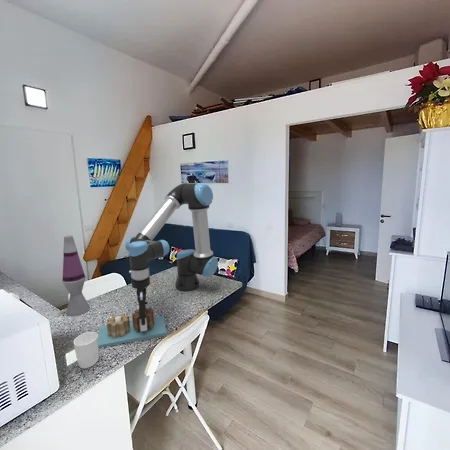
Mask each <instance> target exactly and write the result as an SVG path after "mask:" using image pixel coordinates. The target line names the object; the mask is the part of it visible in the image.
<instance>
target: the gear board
mask: <svg viewBox="0 0 450 450" xmlns="http://www.w3.org/2000/svg"><path fill="white" fill-rule="evenodd" d="M119 321H121V316H118V315H117V316H116V317H115V322H119ZM97 334H98V345H99V348H100V349H103V348H102V347H105V348H108V347H107V346H110V347H113V346H112V345H115V346H118V345H117V344H120V345H122V344H121V343H125V344H128V343H127V342H131V343H135V341H136V342H139V341H145V340H151V339H155V338H160V337H166V336H167V330H166V323H165V317H164V315H159V316H154V324H153V327H151V328H147V331H141V330H140V329H139V330H138V331H137V330H135V328H133V320H132V321H130V332H129V333H126V334H125V336H123V337H120V336H119V337H117V338H112V336H110V337H109V336H108V331H107V325H102V326H100V327H99V331H98V333H97Z"/></svg>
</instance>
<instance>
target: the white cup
mask: <svg viewBox="0 0 450 450" xmlns="http://www.w3.org/2000/svg"><path fill="white" fill-rule="evenodd" d="M98 334H99V333H98V332H95V331H87V332H84V333H81V334H80V335H78V336H77V337H75V338H74V340H73V347H74V352H75V355H76V356H75V357H76V360H77V364H78V367H79V368H80V369H84V370H85V369H89V367H90V368H91V366H92V367H93V365H94V364H95V363H96V362H97V361H98V362H99V360H98V359H100V355H99V351H100V349H99V345H98ZM98 362H97V363H98ZM97 363H96V364H97ZM96 364H95V365H96ZM95 365H94V366H95Z"/></svg>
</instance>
